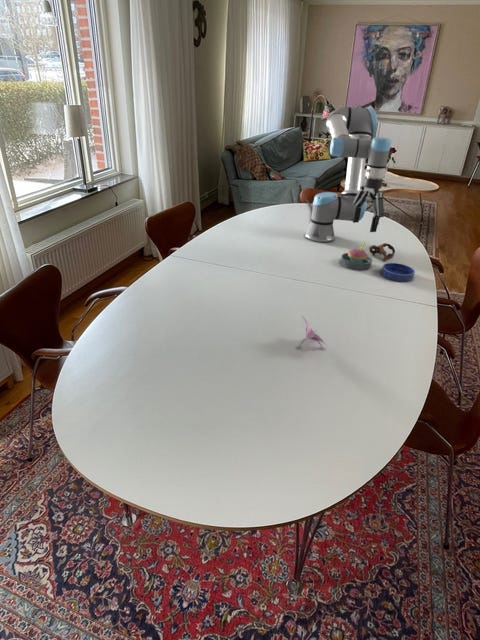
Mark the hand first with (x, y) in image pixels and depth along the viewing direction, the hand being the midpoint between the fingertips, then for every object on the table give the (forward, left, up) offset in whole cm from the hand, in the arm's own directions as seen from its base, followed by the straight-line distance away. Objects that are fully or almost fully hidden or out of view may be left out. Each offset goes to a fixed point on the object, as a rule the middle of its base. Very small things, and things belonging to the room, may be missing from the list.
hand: (363, 227), depth 191 cm
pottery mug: (-5, +17, -18) cm, 25 cm away
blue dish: (+15, +12, -18) cm, 26 cm away
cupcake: (0, 0, -18) cm, 18 cm away
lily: (+57, -53, -18) cm, 80 cm away
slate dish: (0, 0, -18) cm, 18 cm away
